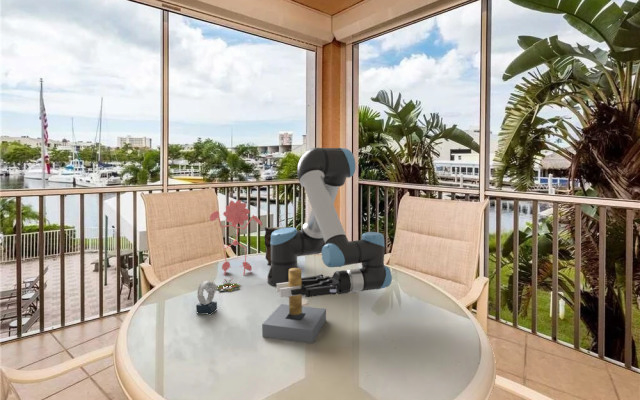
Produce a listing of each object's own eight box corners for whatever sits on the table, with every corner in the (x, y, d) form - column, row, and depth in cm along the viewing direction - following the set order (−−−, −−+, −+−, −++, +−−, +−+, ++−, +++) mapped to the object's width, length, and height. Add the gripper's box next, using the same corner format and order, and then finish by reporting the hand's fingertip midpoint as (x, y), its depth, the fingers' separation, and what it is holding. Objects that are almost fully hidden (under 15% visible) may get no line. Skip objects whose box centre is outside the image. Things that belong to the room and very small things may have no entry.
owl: (295, 264, 185) (294, 226, 183) (273, 269, 178) (272, 229, 176) (283, 259, 195) (282, 223, 193) (262, 263, 188) (261, 226, 186)
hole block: (262, 336, 109) (262, 324, 109) (281, 315, 124) (281, 303, 124) (312, 343, 105) (312, 330, 104) (326, 320, 120) (326, 308, 120)
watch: (219, 307, 131) (218, 278, 130) (207, 317, 123) (206, 286, 122) (206, 306, 132) (204, 277, 131) (193, 315, 124) (192, 284, 123)
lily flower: (211, 286, 154) (211, 276, 154) (239, 282, 159) (239, 272, 159) (215, 296, 144) (215, 285, 143) (245, 291, 148) (245, 281, 148)
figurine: (261, 276, 166) (259, 201, 163) (207, 275, 168) (204, 201, 165) (268, 267, 182) (266, 198, 179) (218, 266, 183) (216, 199, 180)
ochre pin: (287, 314, 113) (286, 271, 111) (291, 309, 116) (291, 267, 115) (299, 315, 112) (298, 272, 110) (303, 310, 115) (302, 268, 114)
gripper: (358, 301, 112) (285, 312, 104) (337, 284, 127) (272, 292, 120) (358, 278, 111) (284, 287, 103) (337, 263, 127) (272, 271, 119)
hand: (278, 290), depth 111 cm, fingers closed on ochre pin, 4 cm apart
